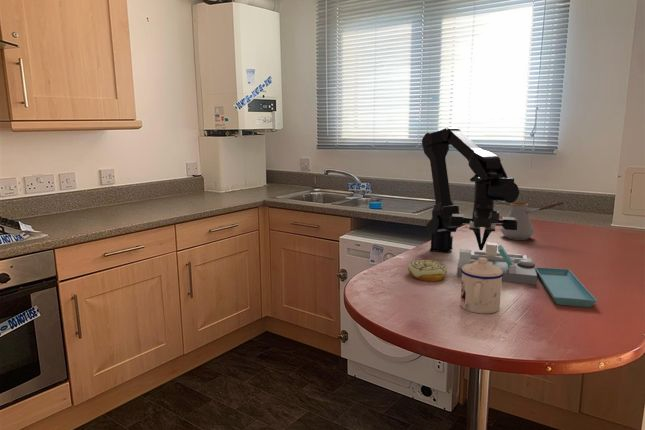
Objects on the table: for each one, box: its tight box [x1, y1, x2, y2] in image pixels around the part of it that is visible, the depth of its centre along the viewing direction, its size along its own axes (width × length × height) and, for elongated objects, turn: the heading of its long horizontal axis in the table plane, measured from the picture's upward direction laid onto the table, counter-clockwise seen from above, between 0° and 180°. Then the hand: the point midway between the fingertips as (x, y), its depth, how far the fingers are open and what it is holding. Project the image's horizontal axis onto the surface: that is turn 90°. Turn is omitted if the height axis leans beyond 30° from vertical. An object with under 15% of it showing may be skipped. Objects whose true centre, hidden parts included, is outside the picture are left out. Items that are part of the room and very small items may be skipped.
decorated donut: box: [407, 259, 448, 282], centre depth 132 cm, size 10×11×4 cm
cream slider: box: [485, 241, 498, 256], centre depth 141 cm, size 3×3×4 cm
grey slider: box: [458, 248, 472, 264], centre depth 133 cm, size 3×3×4 cm
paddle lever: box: [497, 244, 515, 266], centre depth 130 cm, size 1×5×7 cm
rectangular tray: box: [534, 266, 598, 308], centre depth 122 cm, size 26×9×2 cm, turn 166°
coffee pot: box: [500, 201, 567, 241], centre depth 173 cm, size 21×12×15 cm, turn 57°
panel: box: [456, 250, 538, 286], centre depth 136 cm, size 20×18×4 cm
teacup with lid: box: [460, 257, 503, 315], centre depth 107 cm, size 12×9×12 cm
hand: (480, 249), depth 142 cm, fingers closed
